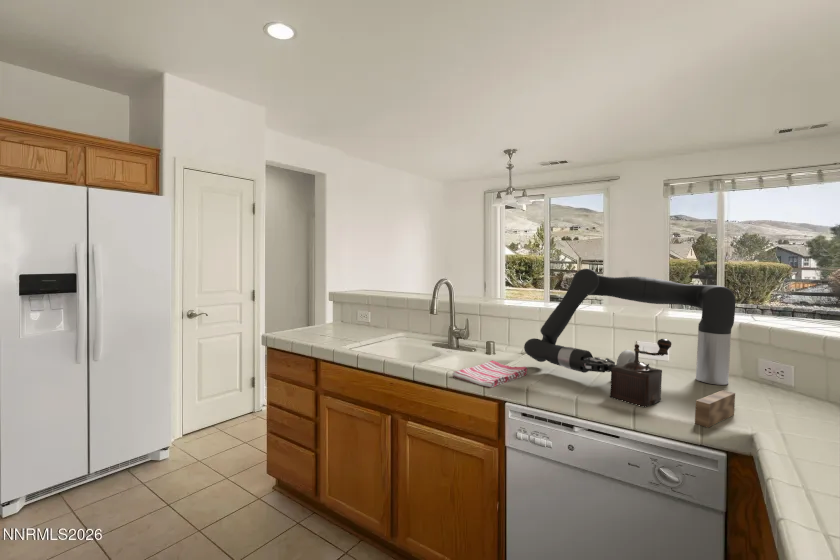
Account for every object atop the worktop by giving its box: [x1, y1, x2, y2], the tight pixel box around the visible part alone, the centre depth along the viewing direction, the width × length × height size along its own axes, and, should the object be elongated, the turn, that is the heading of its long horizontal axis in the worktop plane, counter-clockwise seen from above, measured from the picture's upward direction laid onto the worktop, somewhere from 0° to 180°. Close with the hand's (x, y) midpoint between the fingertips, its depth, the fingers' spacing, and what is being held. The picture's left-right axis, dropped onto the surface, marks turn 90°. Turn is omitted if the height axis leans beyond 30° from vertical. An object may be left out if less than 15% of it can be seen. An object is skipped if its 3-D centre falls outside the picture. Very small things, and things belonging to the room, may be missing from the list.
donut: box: [615, 349, 635, 365], centre depth 145 cm, size 10×4×10 cm, turn 124°
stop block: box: [694, 389, 736, 428], centre depth 108 cm, size 16×3×6 cm, turn 124°
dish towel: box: [452, 360, 528, 389], centre depth 146 cm, size 17×23×4 cm
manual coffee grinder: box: [609, 338, 672, 408], centre depth 124 cm, size 16×11×18 cm
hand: (623, 370), depth 129 cm, fingers closed
